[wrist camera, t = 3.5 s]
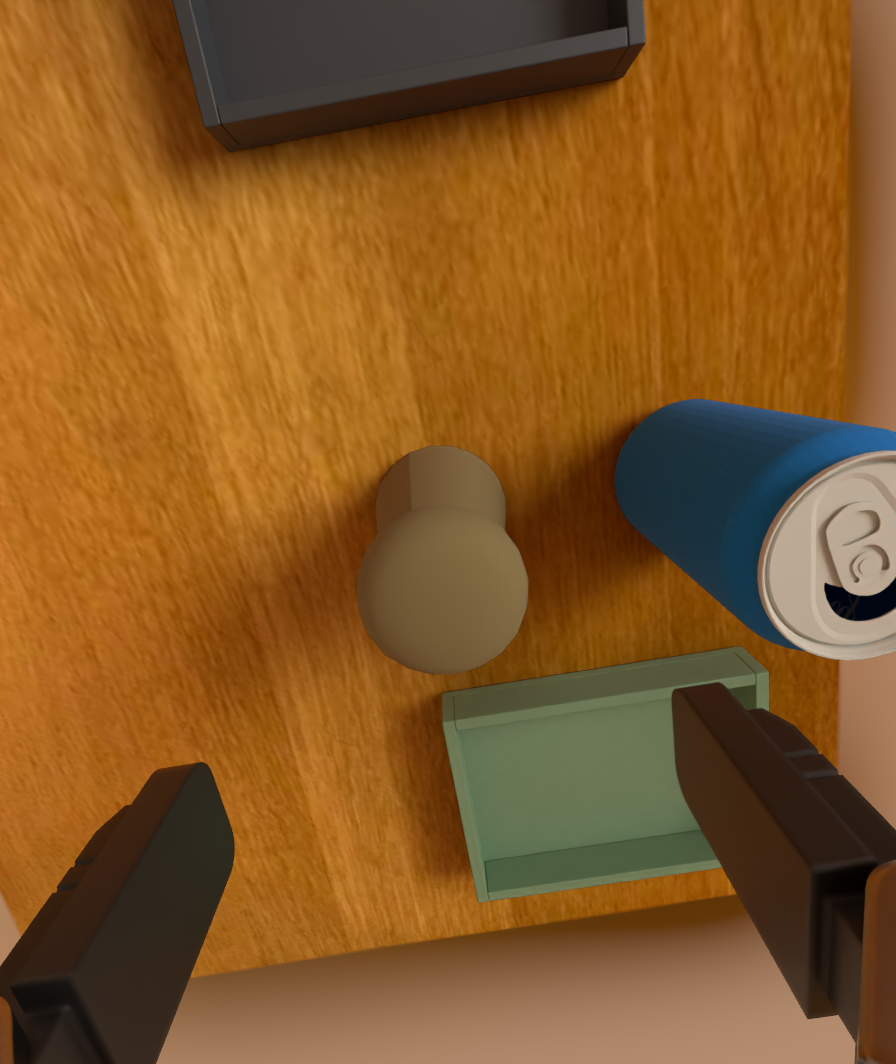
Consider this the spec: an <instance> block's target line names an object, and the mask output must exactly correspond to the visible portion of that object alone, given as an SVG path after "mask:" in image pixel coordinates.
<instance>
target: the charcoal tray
mask: <svg viewBox="0 0 896 1064" xmlns="http://www.w3.org/2000/svg"><path fill="white" fill-rule="evenodd" d="M172 2H173V6H174V10H175V14H176V18H177V22H178V26H179V30H180V34H181V38H182V42H183V46H184V50H185V54H186V58H187V62H188V65H189V69H190V73H191V77H192V81H193V85H194V89H195V93H196V97H197V101H198V105H199V109H200V113H201V117H202V121H203V125H204V127H205V129H206V130H207V131H208V132H209V133H210V134H211V135H213V136H214V137H215V138H216V139H217V140H218V141H219V142H220V143H221V144H222V145H223V146H224V147H225V148H226V149H227V150H228V151H229V152H233V151H238V150H243V149H248V148H254V147H259V146H264V145H269V144H275V143H280V142H285V141H290V140H296V139H301V138H306V137H311V136H317V135H322V134H327V133H332V132H338V131H343V130H348V129H353V128H359V127H364V126H369V125H374V124H380V123H385V122H390V121H396V120H401V119H406V118H411V117H417V116H422V115H427V114H432V113H438V112H443V111H448V110H453V109H459V108H464V107H469V106H474V105H480V104H485V103H490V102H495V101H501V100H506V99H511V98H516V97H522V96H527V95H532V94H537V93H543V92H548V91H553V90H558V89H564V88H569V87H574V86H580V85H585V84H590V83H595V82H601V81H606V80H611V79H616V78H622V77H624V75H625V74H626V72H627V70H628V69H629V67H630V66H631V64H632V63H633V61H634V60H635V58H636V57H637V55H638V54H639V52H640V51H641V49H642V48H643V46H644V45H645V43H646V36H645V18H644V0H172Z"/></svg>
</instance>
